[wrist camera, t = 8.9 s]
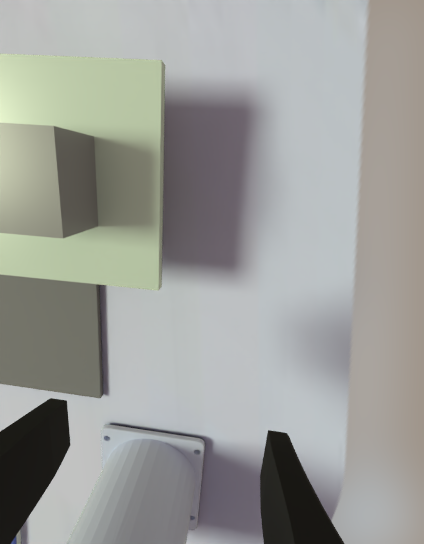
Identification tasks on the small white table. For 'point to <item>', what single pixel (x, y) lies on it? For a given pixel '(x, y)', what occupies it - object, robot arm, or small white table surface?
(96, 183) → the lid
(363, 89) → the small white table surface
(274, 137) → the small white table surface
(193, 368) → the small white table surface
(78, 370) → the mat
